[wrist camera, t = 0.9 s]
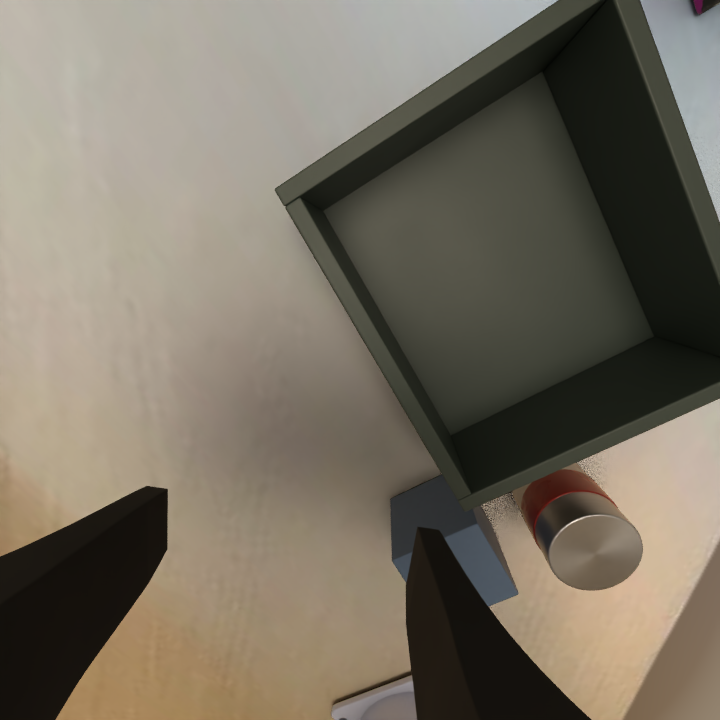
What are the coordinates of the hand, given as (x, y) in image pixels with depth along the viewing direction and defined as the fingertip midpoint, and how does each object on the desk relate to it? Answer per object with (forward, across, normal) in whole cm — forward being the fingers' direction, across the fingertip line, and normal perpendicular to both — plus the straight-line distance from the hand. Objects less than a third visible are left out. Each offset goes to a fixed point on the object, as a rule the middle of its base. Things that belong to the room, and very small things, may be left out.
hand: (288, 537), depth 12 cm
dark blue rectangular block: (+9, -6, +5) cm, 12 cm away
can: (+9, -12, +2) cm, 15 cm away
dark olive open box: (+9, -6, -8) cm, 14 cm away
